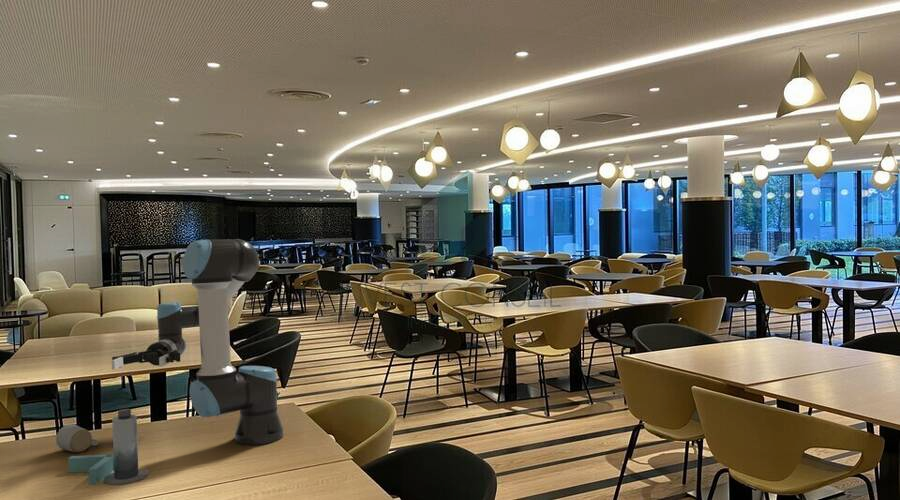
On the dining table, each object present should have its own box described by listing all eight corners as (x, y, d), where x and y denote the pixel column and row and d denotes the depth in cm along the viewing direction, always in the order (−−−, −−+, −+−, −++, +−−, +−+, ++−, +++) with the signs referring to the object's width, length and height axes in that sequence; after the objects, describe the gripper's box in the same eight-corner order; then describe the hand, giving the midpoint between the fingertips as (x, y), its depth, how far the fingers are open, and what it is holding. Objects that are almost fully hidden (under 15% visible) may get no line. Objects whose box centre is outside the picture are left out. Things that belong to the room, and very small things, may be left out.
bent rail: (117, 467, 188) (116, 453, 188) (98, 483, 175) (97, 468, 175) (72, 469, 187) (71, 455, 186) (50, 486, 174) (49, 471, 174)
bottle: (141, 470, 183) (139, 407, 183) (133, 478, 177) (131, 413, 177) (119, 472, 183) (117, 408, 182) (110, 480, 177) (108, 414, 176)
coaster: (154, 468, 186) (154, 467, 186) (139, 483, 175) (139, 482, 175) (114, 470, 185) (113, 469, 185) (96, 485, 174) (96, 484, 174)
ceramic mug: (71, 456, 198) (70, 431, 198) (55, 452, 202) (55, 427, 202) (104, 446, 207) (104, 422, 207) (89, 443, 211) (88, 419, 211)
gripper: (200, 361, 218) (180, 373, 196) (122, 366, 215) (93, 378, 194) (199, 339, 217) (179, 348, 196) (121, 343, 215) (92, 353, 194)
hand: (136, 363), depth 195 cm, fingers open, 13 cm apart
